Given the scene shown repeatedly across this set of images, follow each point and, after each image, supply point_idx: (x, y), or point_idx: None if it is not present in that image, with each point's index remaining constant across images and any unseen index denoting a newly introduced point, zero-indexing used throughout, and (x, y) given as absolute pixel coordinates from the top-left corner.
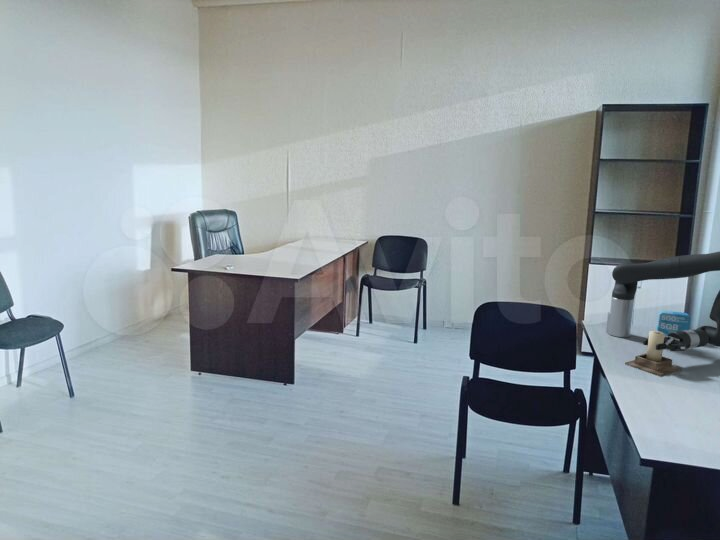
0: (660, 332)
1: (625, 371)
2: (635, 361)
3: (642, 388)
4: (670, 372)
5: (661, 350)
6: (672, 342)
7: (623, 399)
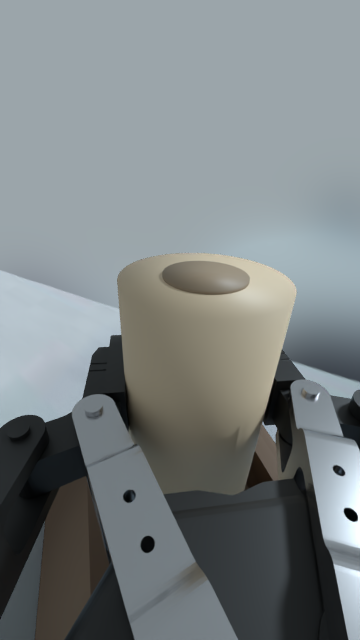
0: (216, 301)
1: None
2: None
3: (28, 327)
4: (43, 557)
5: (129, 433)
6: (108, 570)
7: (24, 282)
